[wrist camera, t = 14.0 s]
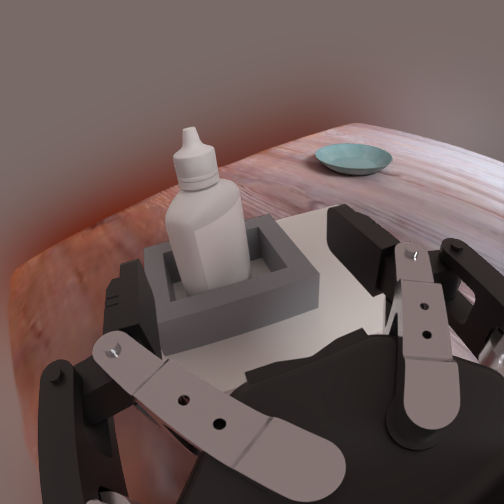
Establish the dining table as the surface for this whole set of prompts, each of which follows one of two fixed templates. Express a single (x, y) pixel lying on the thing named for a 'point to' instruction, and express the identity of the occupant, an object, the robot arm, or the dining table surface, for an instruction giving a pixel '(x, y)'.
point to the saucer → (354, 158)
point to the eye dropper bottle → (206, 221)
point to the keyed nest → (261, 303)
